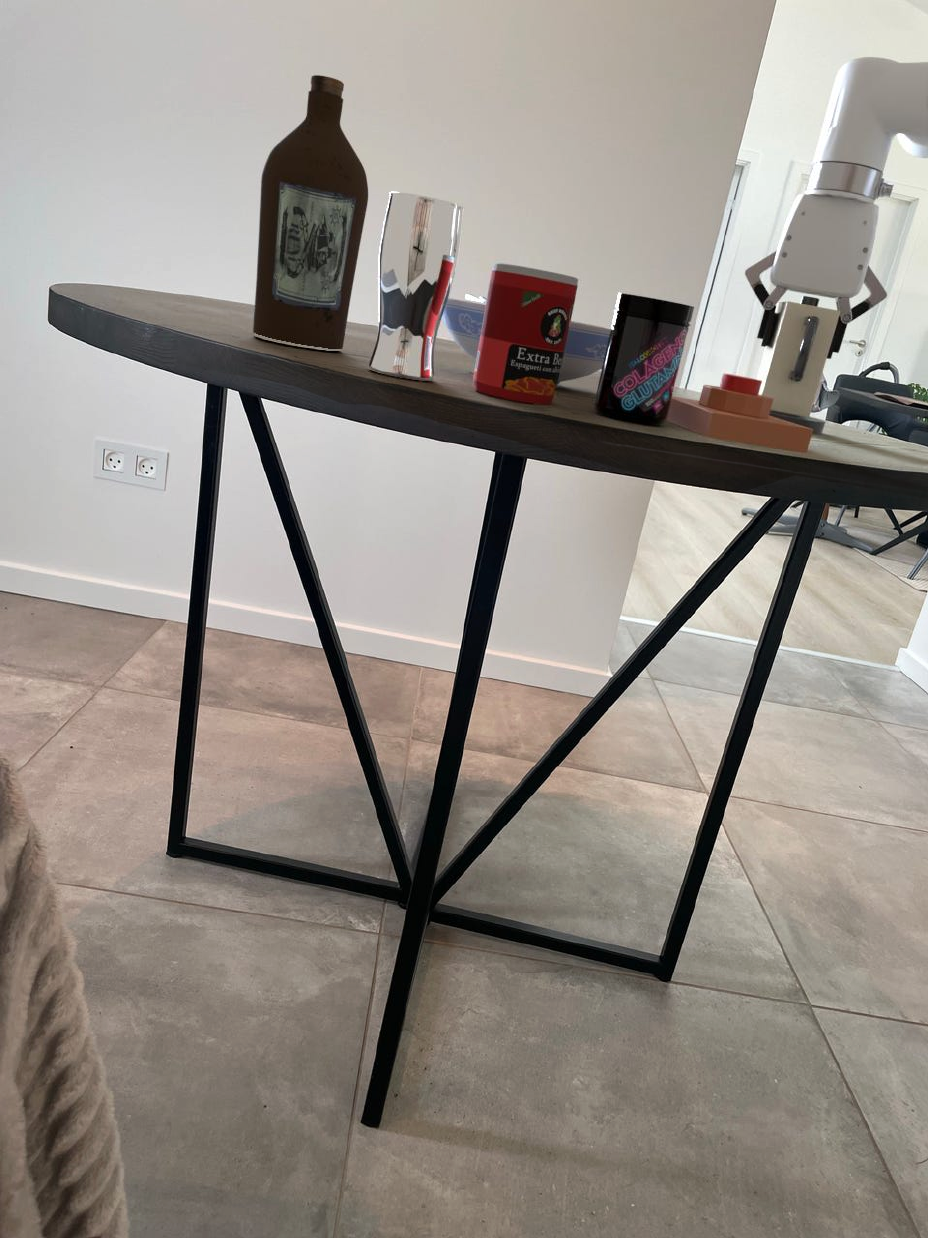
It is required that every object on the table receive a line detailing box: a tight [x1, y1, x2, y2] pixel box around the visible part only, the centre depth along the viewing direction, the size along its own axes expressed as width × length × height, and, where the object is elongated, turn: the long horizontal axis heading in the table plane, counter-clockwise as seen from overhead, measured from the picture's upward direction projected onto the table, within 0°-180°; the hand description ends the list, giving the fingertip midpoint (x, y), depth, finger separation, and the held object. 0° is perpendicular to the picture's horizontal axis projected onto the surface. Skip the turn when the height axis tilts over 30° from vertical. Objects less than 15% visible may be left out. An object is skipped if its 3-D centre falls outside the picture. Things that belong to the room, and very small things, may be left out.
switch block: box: [666, 384, 813, 454], centre depth 88 cm, size 10×12×4 cm
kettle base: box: [769, 410, 826, 436], centre depth 111 cm, size 11×11×2 cm
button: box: [719, 372, 762, 396], centre depth 87 cm, size 4×4×2 cm
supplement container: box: [593, 292, 695, 428], centre depth 82 cm, size 7×7×10 cm
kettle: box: [756, 295, 840, 418], centre depth 109 cm, size 11×6×13 cm, turn 172°
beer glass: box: [368, 191, 465, 383], centre depth 83 cm, size 7×7×15 cm
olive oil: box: [252, 74, 369, 350], centre depth 94 cm, size 11×11×25 cm
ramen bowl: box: [442, 293, 611, 385], centre depth 105 cm, size 25×23×8 cm
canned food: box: [472, 262, 579, 405], centre depth 83 cm, size 8×8×11 cm
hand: (795, 350), depth 109 cm, fingers closed on kettle, 6 cm apart
